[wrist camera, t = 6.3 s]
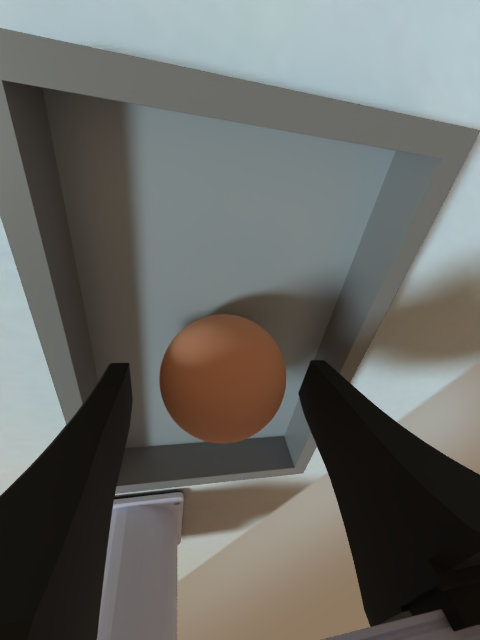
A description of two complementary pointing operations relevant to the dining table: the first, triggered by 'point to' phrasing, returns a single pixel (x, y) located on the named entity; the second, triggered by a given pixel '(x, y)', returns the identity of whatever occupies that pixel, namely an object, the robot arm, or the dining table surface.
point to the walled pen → (204, 230)
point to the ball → (222, 378)
